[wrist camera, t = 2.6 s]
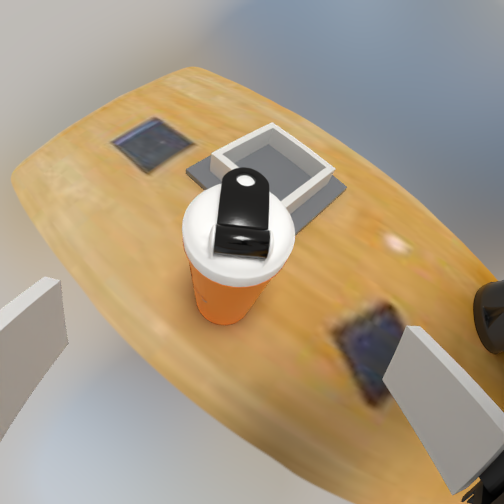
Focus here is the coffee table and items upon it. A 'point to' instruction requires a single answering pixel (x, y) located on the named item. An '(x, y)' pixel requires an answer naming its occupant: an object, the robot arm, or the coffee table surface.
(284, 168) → the holder
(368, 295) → the coffee table surface
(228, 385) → the coffee table surface
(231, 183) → the shaker bottle
